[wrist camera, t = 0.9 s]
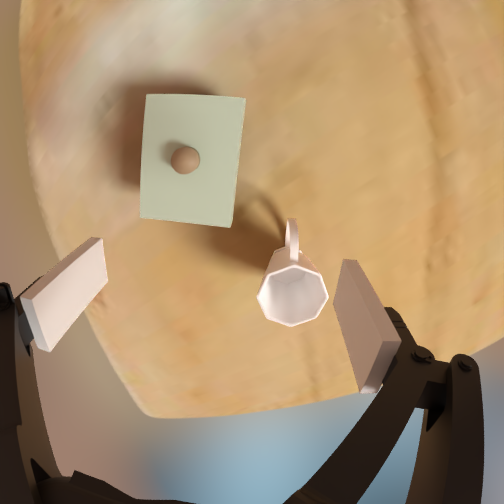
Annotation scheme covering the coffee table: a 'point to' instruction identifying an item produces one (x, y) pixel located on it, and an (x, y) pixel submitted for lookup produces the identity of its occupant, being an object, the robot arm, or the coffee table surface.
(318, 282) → the cup
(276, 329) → the coffee table surface
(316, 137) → the coffee table surface
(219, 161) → the lid
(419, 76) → the coffee table surface
